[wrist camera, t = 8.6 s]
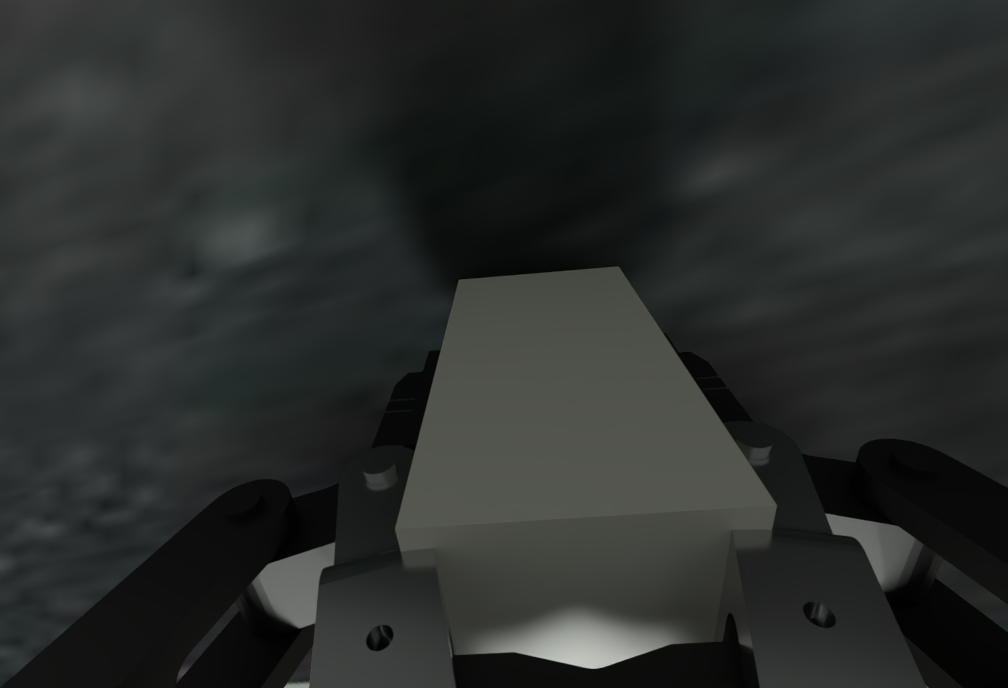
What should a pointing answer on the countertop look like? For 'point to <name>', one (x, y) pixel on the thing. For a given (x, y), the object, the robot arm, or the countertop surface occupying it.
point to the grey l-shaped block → (573, 475)
